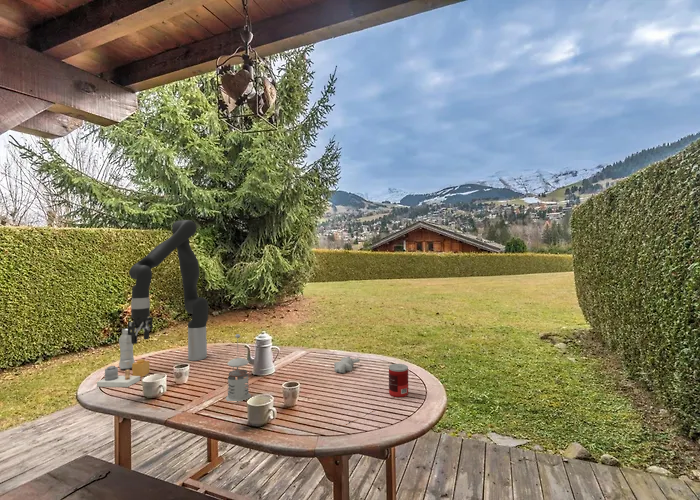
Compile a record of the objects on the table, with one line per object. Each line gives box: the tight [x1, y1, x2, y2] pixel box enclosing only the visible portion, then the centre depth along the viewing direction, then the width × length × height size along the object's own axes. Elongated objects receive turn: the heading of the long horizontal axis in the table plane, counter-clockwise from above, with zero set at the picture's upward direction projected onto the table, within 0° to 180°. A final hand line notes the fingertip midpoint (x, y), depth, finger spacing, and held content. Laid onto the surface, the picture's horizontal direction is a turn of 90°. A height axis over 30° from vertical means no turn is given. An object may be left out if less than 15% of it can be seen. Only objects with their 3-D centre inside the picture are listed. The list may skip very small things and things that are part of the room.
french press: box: [225, 333, 252, 402], centre depth 140 cm, size 10×12×25 cm
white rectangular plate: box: [96, 375, 141, 388], centre depth 155 cm, size 8×14×2 cm, turn 86°
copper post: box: [124, 368, 131, 380], centre depth 155 cm, size 2×2×4 cm
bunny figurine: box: [333, 356, 361, 374], centre depth 171 cm, size 10×5×15 cm
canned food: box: [388, 363, 409, 398], centre depth 140 cm, size 8×8×11 cm
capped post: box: [104, 365, 119, 381], centre depth 155 cm, size 5×5×5 cm
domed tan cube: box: [131, 358, 150, 378], centre depth 166 cm, size 5×5×7 cm
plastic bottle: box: [118, 327, 136, 370], centre depth 175 cm, size 6×7×20 cm
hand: (140, 341), depth 166 cm, fingers open, 8 cm apart
